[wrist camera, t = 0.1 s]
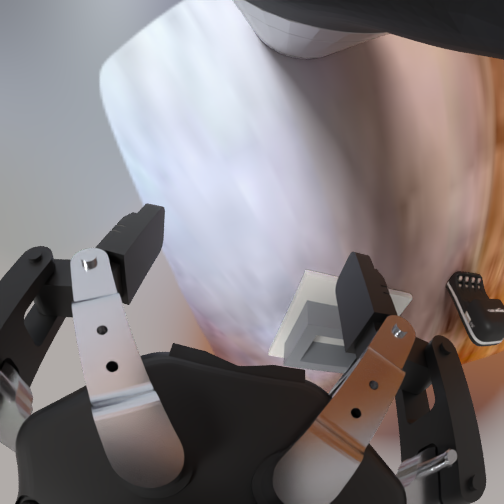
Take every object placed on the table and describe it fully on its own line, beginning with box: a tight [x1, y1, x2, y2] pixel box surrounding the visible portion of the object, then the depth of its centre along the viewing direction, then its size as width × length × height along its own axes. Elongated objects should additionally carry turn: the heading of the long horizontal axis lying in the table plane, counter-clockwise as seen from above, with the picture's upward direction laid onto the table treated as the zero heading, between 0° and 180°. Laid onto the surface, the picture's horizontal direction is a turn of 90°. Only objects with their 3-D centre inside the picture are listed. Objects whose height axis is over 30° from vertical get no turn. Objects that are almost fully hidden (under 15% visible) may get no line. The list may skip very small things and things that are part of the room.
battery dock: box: [268, 270, 413, 373], centre depth 38 cm, size 18×16×5 cm
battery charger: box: [446, 272, 504, 346], centre depth 27 cm, size 7×4×11 cm, turn 86°
